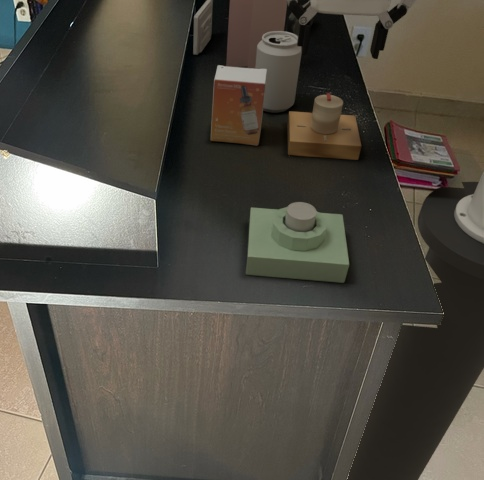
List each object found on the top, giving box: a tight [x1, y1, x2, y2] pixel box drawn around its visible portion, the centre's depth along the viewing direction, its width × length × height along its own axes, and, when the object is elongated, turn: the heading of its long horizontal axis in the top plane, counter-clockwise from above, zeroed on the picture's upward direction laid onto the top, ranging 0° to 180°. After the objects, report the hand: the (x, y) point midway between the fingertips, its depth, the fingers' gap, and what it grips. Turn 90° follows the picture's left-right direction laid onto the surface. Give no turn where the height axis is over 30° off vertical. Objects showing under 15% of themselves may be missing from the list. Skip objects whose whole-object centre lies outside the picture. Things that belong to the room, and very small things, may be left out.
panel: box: [286, 110, 362, 161], centre depth 94 cm, size 11×10×3 cm
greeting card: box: [225, 0, 288, 69], centre depth 109 cm, size 11×7×15 cm, turn 105°
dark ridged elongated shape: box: [285, 1, 315, 36], centre depth 127 cm, size 5×3×15 cm
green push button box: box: [245, 206, 350, 284], centre depth 72 cm, size 12×10×5 cm
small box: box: [209, 64, 267, 147], centre depth 92 cm, size 8×6×10 cm
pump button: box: [285, 201, 317, 232], centre depth 70 cm, size 4×4×2 cm
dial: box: [310, 92, 344, 134], centre depth 91 cm, size 4×4×5 cm
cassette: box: [192, 0, 214, 56], centre depth 120 cm, size 12×2×8 cm, turn 164°
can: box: [255, 30, 302, 114], centre depth 99 cm, size 8×8×12 cm
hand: (338, 53), depth 80 cm, fingers open, 9 cm apart
